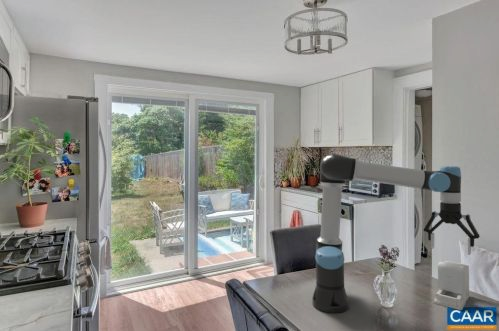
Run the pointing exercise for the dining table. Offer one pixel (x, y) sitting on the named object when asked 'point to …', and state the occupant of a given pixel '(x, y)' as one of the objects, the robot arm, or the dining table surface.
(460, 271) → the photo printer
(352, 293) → the dining table surface
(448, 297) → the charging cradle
